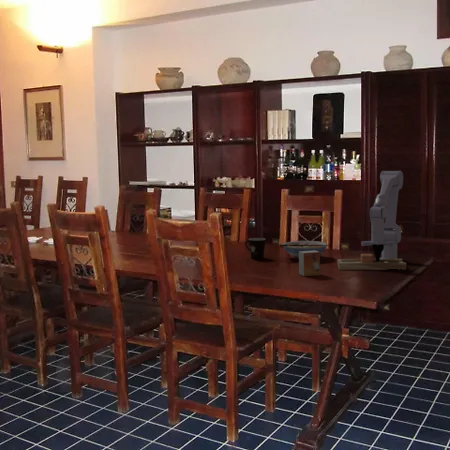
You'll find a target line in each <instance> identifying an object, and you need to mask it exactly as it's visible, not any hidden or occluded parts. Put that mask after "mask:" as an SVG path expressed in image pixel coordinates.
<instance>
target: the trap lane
mask: <svg viewBox="0 0 450 450" xmlns="http://www.w3.org/2000/svg"><path fill="white" fill-rule="evenodd" d="M337 267H338V270H339V271H356V270H357V271H359V270H360V271H362V270H363V271H365V270H366V271H369V270H370V271H373V270H374V271H379V270H380V271H381V270H383V271H384V270H386V271H387V269H388V271H389V269H398V271H400V269H402V271H403V270H407V262H406V261H405V262H404V261H403V258H397V259H380V260H379V261H376V258H373V263H361V258H338V259H337Z"/></svg>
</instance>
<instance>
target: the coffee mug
mask: <svg viewBox="0 0 450 450" xmlns="http://www.w3.org/2000/svg"><path fill="white" fill-rule="evenodd" d="M244 243H245V247H246V249H248V251H249V252H250V253H249V254H250V258H252V259H251V260H263V259H264V258H265V248H266V238H264V237H252V238H248V240H246V241H245V242H244ZM247 243H249V245H247ZM248 246H249V247H248Z"/></svg>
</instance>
